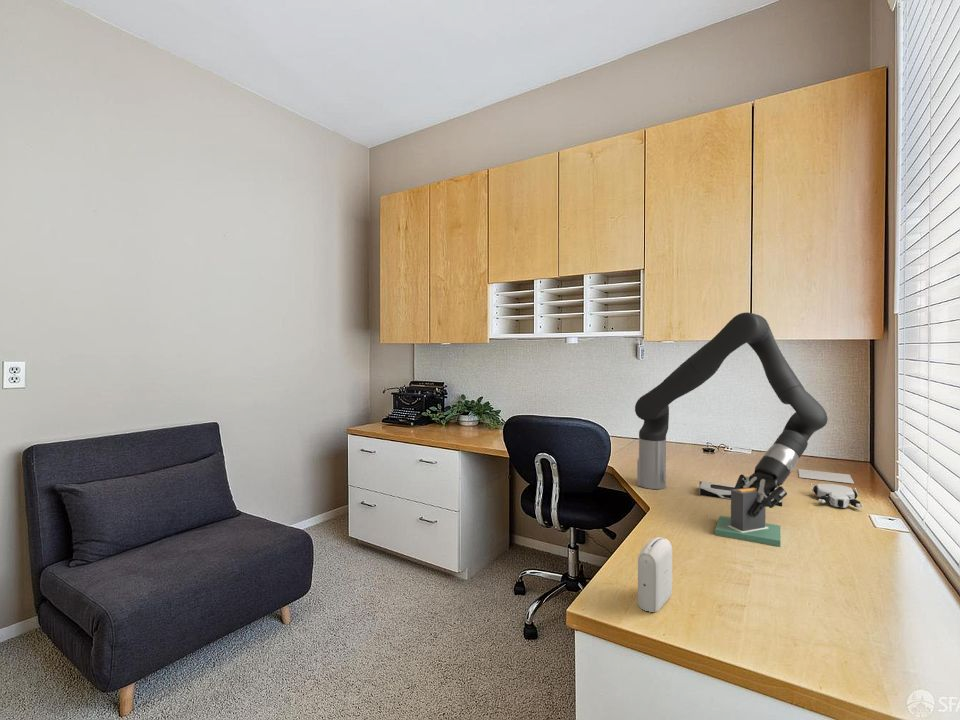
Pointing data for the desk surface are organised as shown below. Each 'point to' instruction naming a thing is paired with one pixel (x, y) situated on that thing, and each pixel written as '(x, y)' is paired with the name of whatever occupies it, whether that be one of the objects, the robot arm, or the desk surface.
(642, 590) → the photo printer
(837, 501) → the robot toy
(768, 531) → the header board
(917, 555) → the desk surface
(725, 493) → the graphics card
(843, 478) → the paper stack
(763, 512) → the block
